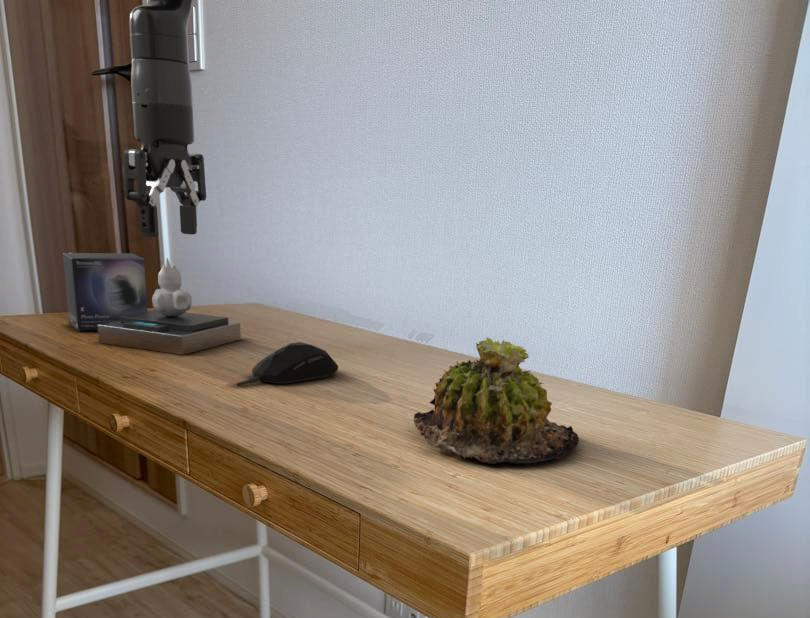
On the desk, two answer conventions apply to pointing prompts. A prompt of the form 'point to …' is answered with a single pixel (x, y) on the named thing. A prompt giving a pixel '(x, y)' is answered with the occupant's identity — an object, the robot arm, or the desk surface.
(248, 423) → the desk surface
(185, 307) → the beige lumpy figurine
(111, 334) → the scale
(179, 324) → the scale pan
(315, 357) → the gaming mouse
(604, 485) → the desk surface
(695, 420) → the desk surface
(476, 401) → the cactus
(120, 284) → the small box
